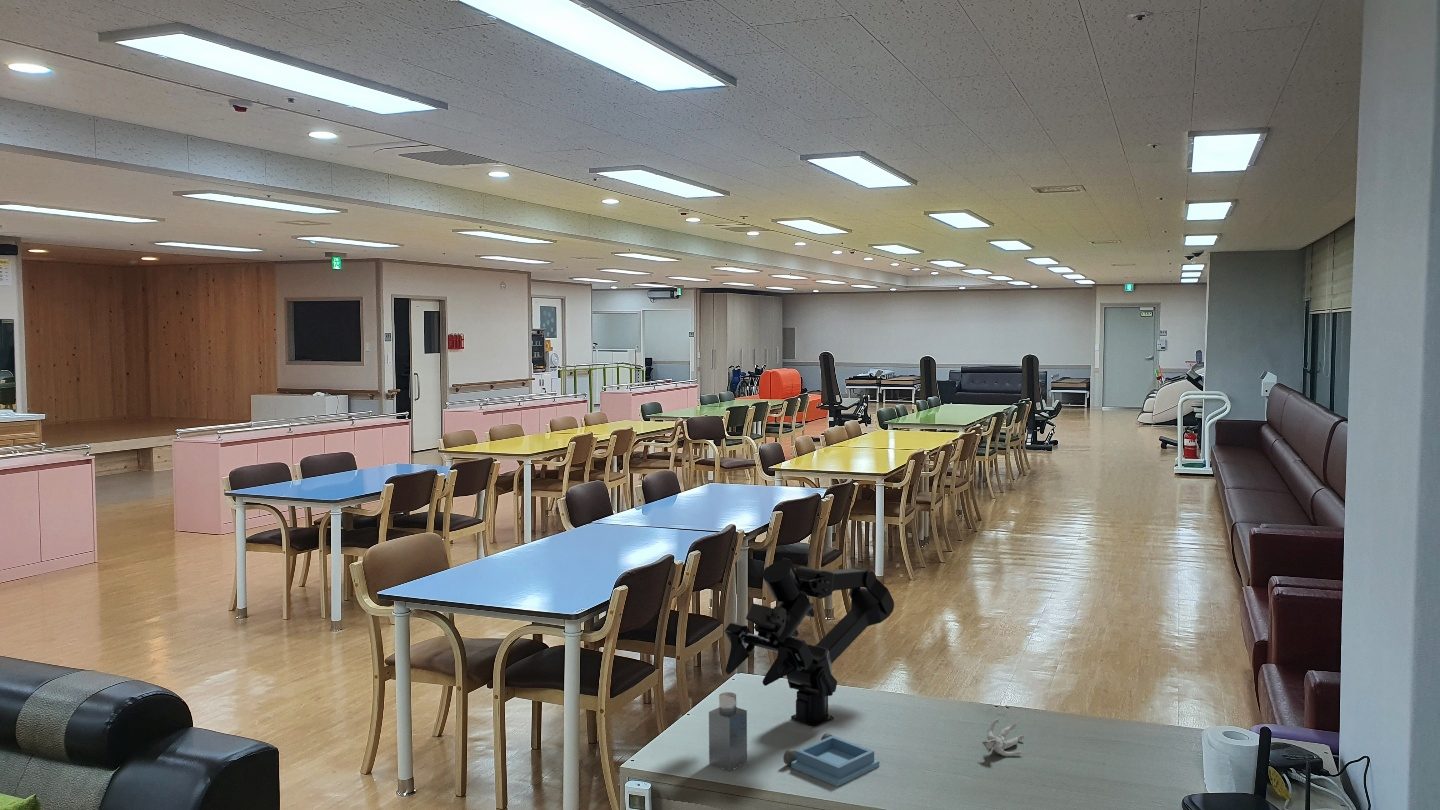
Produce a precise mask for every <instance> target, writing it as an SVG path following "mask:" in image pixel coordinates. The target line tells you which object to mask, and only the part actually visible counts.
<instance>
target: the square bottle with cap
mask: <svg viewBox="0 0 1440 810" xmlns="http://www.w3.org/2000/svg"><path fill="white" fill-rule="evenodd" d="M718 706H719V707H716V708H715V709H712V710H710V711H708V742H709V743H708V760H709V761H708V763H709V765H710V764H711V766H713V765H714V766H713V767H716V766H717V767H716V768H718V769H721V768H723V769H722V770H724V769H725V770H724V771H727V770H728V772H732V771H734V770H735V769H734V768H736V767H738V766H739V767H741V766H743V765H745V764H747V763H748V710H747V709H744V708H740V707H737V694H736V693H733V692H729V691H726V692H722V693H719V695H718ZM746 762H747V763H746ZM744 763H745V764H744ZM742 764H743V765H742ZM740 765H741V766H740ZM739 767H738V768H739ZM733 769H734V770H733ZM736 769H737V768H736ZM731 770H732V771H731Z"/></svg>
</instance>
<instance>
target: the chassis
mask: <svg viewBox="0 0 1440 810" xmlns="http://www.w3.org/2000/svg"><path fill="white" fill-rule="evenodd" d="M782 761H783V763H784V764H785V765H788V766H790V768H791V769H794V770H796V771H799V772H801V773H803V774H805V775H808V776H811V777H813V778H816V779H817V780H819V781H823V782H825V783H827V784H829V785H832V786H834V787H840V786H841V785H844V784H845V783H848V782H850V781H853V780H854V779H856V778H858V777H860V776H863V775H865V774H866V773H868V772H870V771H872V770H875V769H876V768H878V767H880V760H878V759H875V750H873V749H869V748H867V747H864V746H861V745H859V744H856V743H853V742H851V741H848V740H845V739H843V738H840V737H837V736H835V735H832V734H831V733H824V734H823V735H822V736H821V739H820V740H819V741H818V740H817V742H815V743H812V744H809V745H807V746H805V747H802V748H801V749H798V750H794V749H792V748H788V749H787V750H785V752H784V754H783V760H782Z"/></svg>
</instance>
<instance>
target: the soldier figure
mask: <svg viewBox="0 0 1440 810" xmlns="http://www.w3.org/2000/svg"><path fill="white" fill-rule="evenodd" d="M999 720H1001V717H997V718H995V719H994V720H993V722H991V724H990V725H989V727H988V729H987V733H986V734H987V735H986V736H987V738H986V739H987V741H982V742H981V743H982V745H983V746H984V747H985V749H986V750H987V752H988V754H990V752H992V750H993V751H995V753H997V754H999V755H1001V756H1003V757H1016V756H1020V755H1023V753H1024V752H1023V751H1022V750H1017V751H1010V752H1009V751H1005V750H1006V749H1009V748H1011V747H1013V746H1017V745H1018V744H1019V741H1022V740H1024V739H1025V735H1024V734H1021V735H1019V736H1015V737H1013V738H1011V739H1007V740H1006V738H1007V735H1009V732H1010V731H1012V730H1015V729H1016V727H1017V724H1016V723H1013V724H1011V725H1009V726H1004V728H1002V729H1001V731H1000V732H999V733H998V734H993V732H994V730H995V727H996V724H1000V721H999Z"/></svg>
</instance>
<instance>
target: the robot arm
mask: <svg viewBox="0 0 1440 810" xmlns="http://www.w3.org/2000/svg"><path fill="white" fill-rule="evenodd" d="M762 579H763V581H764V583H765V585H766V586H767V588H768V590H769V592H770V594H771V597H772V598H773V599H774V600H775V601H776V602H779V603H778V604H777V605H776V606H774V607H773V608H772V607H769V606H766V605H762V604H757V603H753V602H751V604H750V606H749V609H748V612H747V614H746V617H745V619H746V620H747V621H750V622H751V623H753V624H754V626H753V628H754V631H755V632H757V633H758V634H757V635H756V634H753V633H752V632H751V630H750V629H749V626H748V625H746V624H741V623H738V622H729V624H728V625H727V627H726V628H725V629H724V633H725V635H726V636H727V638H728V640H729V642H730V650H729V651H730V652H729V656H728V659H727V662H726V663H727V664H726V666H725V673H726V675H731V674H732V673H733V672H735V670H736V669H738V668H739V666H741V665H742V663H744V662H745V661H746V659H748V658H749V657H750V652H753V649H755V647H759V648H761V649H766V650H768V651H772V652H776V653H777V656H776V658H775V660H774V662H773V663H772V665H771V666H770V667H769V669H768V671H766V674H765V676H764V678H763V679H762V681H761V682H762V684H763V686H768V685H770V684H772V683H774V682H775V681H778V680H780V679H782V678H783V677H786V678H787V682H788V686H789V688H790V689H794V690H797V691H796V699H795V714H792V715H791V716H790V718H791V720H794V721H796V722H799V723H802V724H804V725H807V726H810V727H813V728H815V727H817V726H820V725H822V724H825V723H828V722H829V721H832V720H834V719H835V718H834V717H835V716H834V715H831V714H829V697H832V696H833V693H835V692H836V691H837V686H838V681H837V679H836V678H835V676H833V674H832V669H833V667H832V666H833V663H834V662H835V661H836V660H837V659H838V658H839V657H840V656H841V655H842V654H844V653H843V652H845V650H846V649H848V647H849V646H850V645H851V644H852V643H853V642H854V641H855V640H856V639H857V638H858V637H859V636H860V635H861V634H862V633H863V632H864V631H865V630H866V629H867V628H868V627H871V626H873V625H877V624H881V623H882V622H884V621H885V620H887V619H888V618H889V617H890V616H891V615H892V613H893V612H894V609H895V601H894V599H893V597H892V595H891V592H890V591H889V589H888V587H886V586H885V585H884V584H883V583H882V582H881V581H880V580H879V579H878V578H877V576H876V574H875V572H874V571H873V570H871V569H867V568H863V567H857V566H854V567H850V568H843V569H841V568H839V569H831V570H823V569H817V568H812V567H807V566H803V565H802V566H797V568H795V567H794V564H793V562H792V560H791V559H790V558H789V559H788V558H784V557H782V558H781V559H780V561H777V562H773V563H772V564H769V565H768V566H767V567H765V568H764V569H763V572H762ZM843 590H849V593H848V595H849V598H850V610H849V612H847V613H846V615H844V617H842V618H841V620H839V621H838V622H837V623H836V624H835V625H834V626H833V628H831V629H830V630H829V631H828V632H827V633H826V634H825V635H824V636H823V638H822V639H820V640H819V641H818V642H817V644H816V645H812V644H807V642H806V640H805V639H801V638H798V636H799V634H800V633H799V631H798V628H799V627H800V625H801V623H802V622H803V621H804V619H805V618H806V617H810V618H814V617H815V609H814V603H813V602H811V600H810V599H809V598H815V599H820V600H822V599H825V598H828V597H830V596H832V595H833V592H835V591H843Z"/></svg>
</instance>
